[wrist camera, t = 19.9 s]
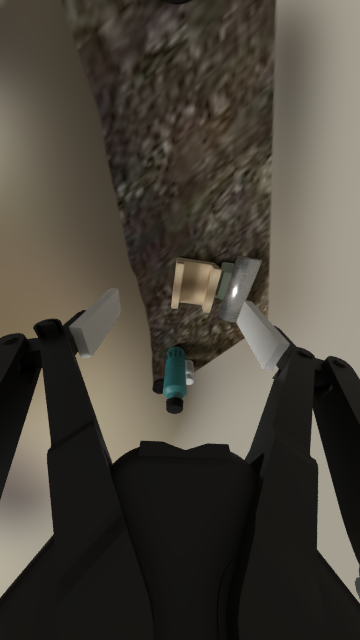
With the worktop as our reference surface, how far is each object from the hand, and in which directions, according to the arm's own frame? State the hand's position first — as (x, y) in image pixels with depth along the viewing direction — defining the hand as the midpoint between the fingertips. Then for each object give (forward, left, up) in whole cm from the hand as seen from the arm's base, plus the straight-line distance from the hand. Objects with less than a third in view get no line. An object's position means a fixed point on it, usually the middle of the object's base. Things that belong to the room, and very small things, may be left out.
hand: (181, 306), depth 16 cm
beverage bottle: (+29, +3, -24) cm, 38 cm away
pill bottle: (+35, +8, -24) cm, 43 cm away
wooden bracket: (+4, +4, -24) cm, 25 cm away
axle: (+3, +14, -18) cm, 23 cm away
